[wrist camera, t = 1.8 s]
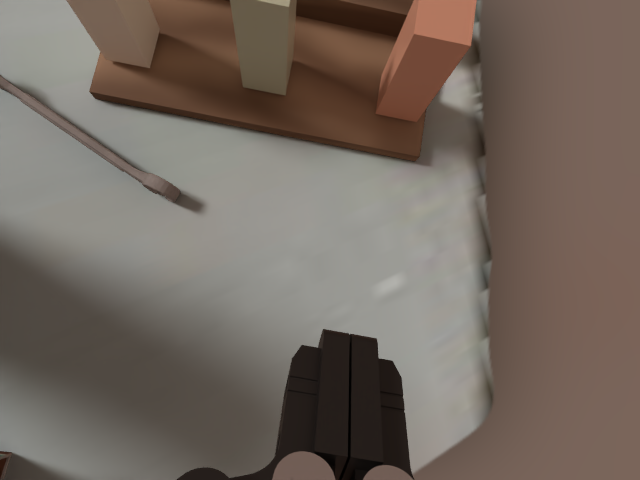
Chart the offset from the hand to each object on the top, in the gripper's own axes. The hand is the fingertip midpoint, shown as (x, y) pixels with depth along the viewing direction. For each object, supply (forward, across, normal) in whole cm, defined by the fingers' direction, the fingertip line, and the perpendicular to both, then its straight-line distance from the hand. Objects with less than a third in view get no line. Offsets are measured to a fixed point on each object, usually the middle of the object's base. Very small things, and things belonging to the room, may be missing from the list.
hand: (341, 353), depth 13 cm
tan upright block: (+30, +18, +1) cm, 35 cm away
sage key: (+30, +7, +1) cm, 31 cm away
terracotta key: (+30, -4, +1) cm, 30 cm away
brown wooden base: (+33, +7, +1) cm, 33 cm away
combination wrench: (+26, +21, +8) cm, 34 cm away
